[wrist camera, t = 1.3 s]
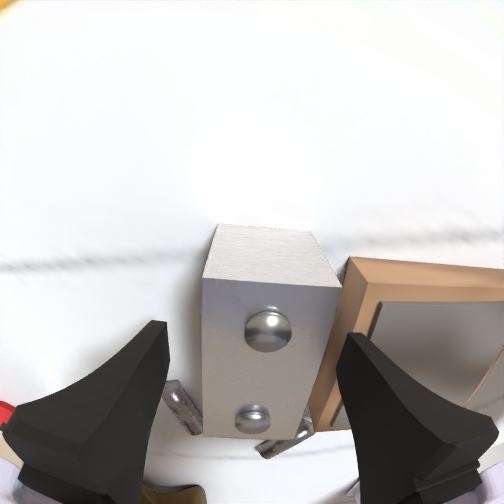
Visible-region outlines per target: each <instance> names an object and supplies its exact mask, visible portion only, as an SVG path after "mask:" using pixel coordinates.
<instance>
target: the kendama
mask: <svg viewBox="0 0 504 504" xmlns="http://www.w3.org/2000/svg"><path fill="white" fill-rule="evenodd" d="M141 504H207V500H206V495H205V491H204V489H203V488H202V487H201V486H194V487H190V488H187V489H184V490H181V491H178V492H157V491H151V490H150V489H149V488H148V487H147V486H145V485H144V484H142V491H141Z"/></svg>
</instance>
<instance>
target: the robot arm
mask: <svg viewBox="0 0 504 504" xmlns="http://www.w3.org/2000/svg"><path fill="white" fill-rule="evenodd" d="M169 363H170V354H169V343H168V332H167V322H164V321H155V320H151V321H150V322H149V323H148V324H147V325H146V326H145V327H144V328H143V329H142V330H141V331H140V332H139V333H138V334H137V335H136V336H135V337H134V338H133V339H132V340H131V341H130V342H129V343H128V344H126V345H125V346H124V347H123V348H122V349H121V350H120V351H119V352H118V353H117V354H115V355H114V356H113V357H112V358H110V359H109V360H108V361H107V362H106V363H104V364H103V365H102V366H100V367H99V368H98V369H96V370H95V371H94V372H92V373H91V374H89V375H88V376H86V377H84V378H83V379H81V380H79V381H77V382H75V383H74V384H72V385H70V386H68V387H66V388H64V389H62V390H60V391H58V392H56V393H53V394H51V395H49V396H46V397H44V398H41V399H38V400H35V401H32V402H28V403H25V404H22V405H18V406H17V407H16V408H15V410H14V412H13V413H12V415H11V417H10V419H9V420H8V422H7V424H6V426H5V428H4V429H3V431H2V435H3V438H4V440H5V442H6V443H7V444H8V446H9V447H10V448H11V449H12V450H13V451H14V453H15V454H16V455H17V456H18V457H19V458H20V459H21V460H22V461H23V463H24V464H23V466H22V469H21V468H19V467H18V466H17V465H15V464H14V463H12V462H10V461H8V460H7V459H5V458H3V457H1V456H0V504H141V491H142V482H143V473H144V465H145V459H146V452H147V446H148V441H149V435H150V431H151V427H152V423H153V420H154V417H155V414H156V411H157V408H158V404H159V401H160V398H161V395H162V392H163V389H164V386H165V383H166V379H167V374H168V369H169ZM335 369H336V375H337V381H338V387H339V391H340V395H341V398H342V401H343V404H344V407H345V411H346V414H347V417H348V420H349V423H350V427H351V430H352V434H353V438H354V443H355V449H356V455H357V463H358V471H359V481H358V482H357V483H356V484H355V485H354V486H353V487H352V489H351V490H350V491H349V492H348V493H347V494H346V496H347V497H352V496H354V497H355V502H356V504H504V464H503V462H499V463H497V464H495V465H493V466H491V467H489V468H487V469H486V470H484V471H482V472H481V473H480V474H479V473H478V471H477V468H479V467H480V463H479V461H478V459H479V458H480V457H481V456H482V455H483V454H484V453H485V452H486V451H487V450H488V449H489V448H490V447H491V445H492V444H493V443H494V442H495V441H496V439H497V438H498V435H499V431H498V429H497V427H496V425H495V424H494V422H493V420H492V418H491V417H489V416H486V415H483V414H480V413H477V412H474V411H471V410H468V409H466V408H463V407H461V406H459V405H456V404H454V403H452V402H450V401H448V400H446V399H444V398H443V397H441V396H439V395H437V394H435V393H434V392H432V391H431V390H429V389H428V388H426V387H425V386H423V385H422V384H420V383H419V382H417V381H416V380H415V379H413V378H412V377H411V376H410V375H408V374H407V373H406V372H405V371H403V370H402V369H401V368H400V367H399V366H397V365H396V364H395V363H394V362H393V361H392V360H391V359H390V358H389V357H387V356H386V355H385V354H384V353H383V352H382V351H381V350H380V349H379V348H378V347H377V346H376V345H375V344H374V343H372V342H371V341H370V340H369V339H368V338H367V337H366V336H365V335H364V334H362V333H361V332H348V333H347V336H346V339H345V342H344V345H343V348H342V351H341V354H340V357H339V360H338V363H337V365H336V368H335Z"/></svg>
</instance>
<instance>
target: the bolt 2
mask: <svg viewBox="0 0 504 504" xmlns="http://www.w3.org/2000/svg"><path fill="white" fill-rule="evenodd" d="M315 433H316V432H314V429H313V424H312V423H311V422H309V421H307V420H304V419H302V420H301V422H300V425H299V427H298V430H297V432H296V435H295V438H294V439H286V440H267V441H266V442H264V443H262V444H260V445H259V448H258V450H259V453H260V455H261V456H262V457H263V458H265V459H270V458H272V457H274V456H276V455H278V454H280V453H282V452H284V451H286V450H288V449H289V448H291V447H293V446H295V445H297V444H298V443H300V442H302V441H304V440H305V439H307V438H309V437H311V436H312V435H314V434H315Z"/></svg>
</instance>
